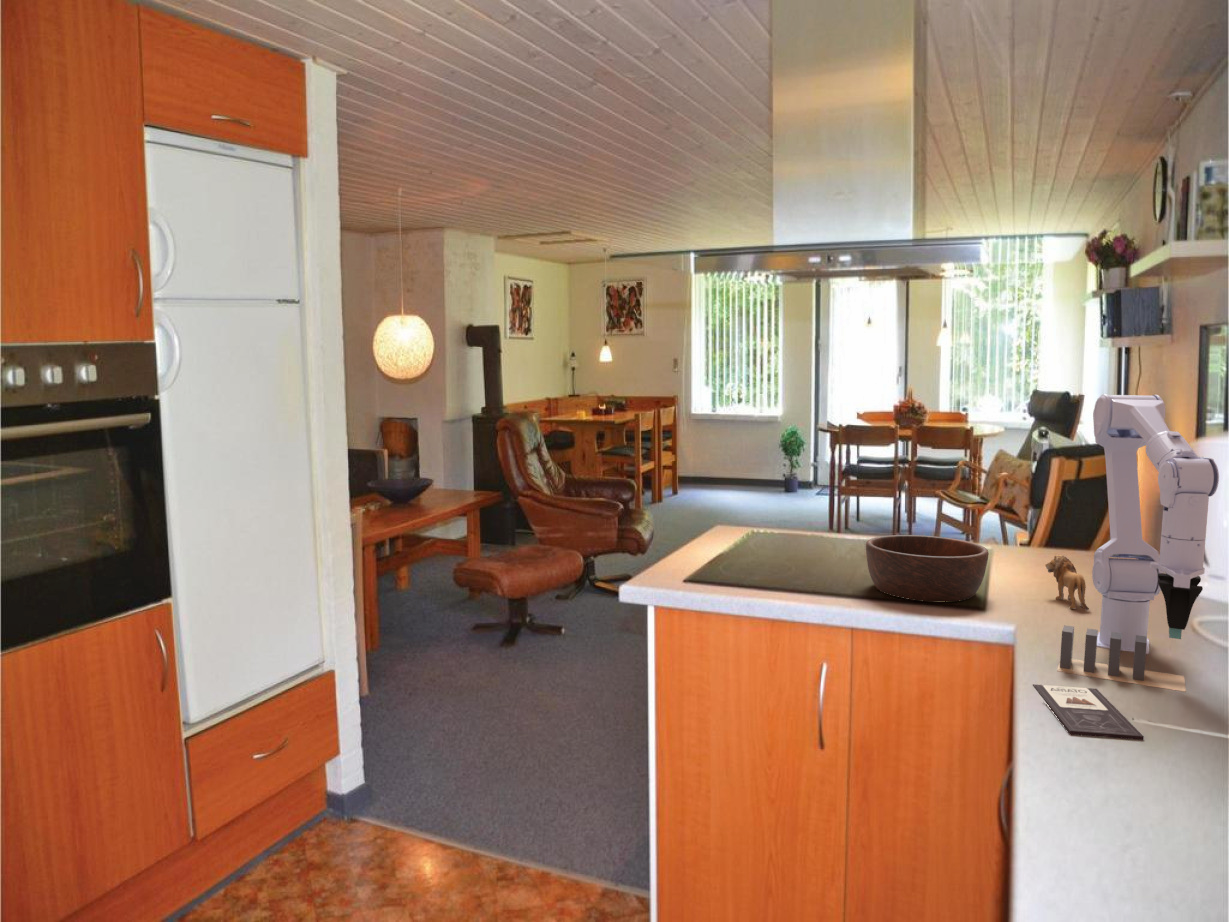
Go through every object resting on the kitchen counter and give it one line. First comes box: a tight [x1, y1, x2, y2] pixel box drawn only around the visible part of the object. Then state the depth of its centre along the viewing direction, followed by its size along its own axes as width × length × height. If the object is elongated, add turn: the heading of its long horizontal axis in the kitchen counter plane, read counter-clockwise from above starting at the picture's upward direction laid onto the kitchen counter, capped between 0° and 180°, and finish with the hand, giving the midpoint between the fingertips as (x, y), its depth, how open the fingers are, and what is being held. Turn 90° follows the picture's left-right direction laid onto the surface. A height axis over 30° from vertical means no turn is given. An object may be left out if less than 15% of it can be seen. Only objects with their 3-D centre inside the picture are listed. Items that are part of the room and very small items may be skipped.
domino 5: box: [1168, 627, 1183, 640], centre depth 140 cm, size 2×4×6 cm, turn 150°
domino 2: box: [1083, 628, 1099, 673], centre depth 146 cm, size 2×4×6 cm, turn 150°
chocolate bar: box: [1032, 684, 1145, 741], centre depth 129 cm, size 9×1×18 cm
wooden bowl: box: [865, 534, 990, 603], centre depth 197 cm, size 25×25×10 cm
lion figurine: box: [1044, 554, 1090, 611], centre depth 189 cm, size 15×5×9 cm, turn 1°
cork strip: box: [1056, 658, 1187, 693], centre depth 144 cm, size 8×17×1 cm, turn 60°
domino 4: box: [1132, 635, 1148, 681], centre depth 143 cm, size 2×4×6 cm, turn 150°
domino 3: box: [1108, 632, 1122, 677], centre depth 144 cm, size 2×4×6 cm, turn 150°
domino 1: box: [1059, 625, 1075, 669], centre depth 148 cm, size 2×4×6 cm, turn 150°
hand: (1176, 624), depth 140 cm, fingers closed on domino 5, 4 cm apart
